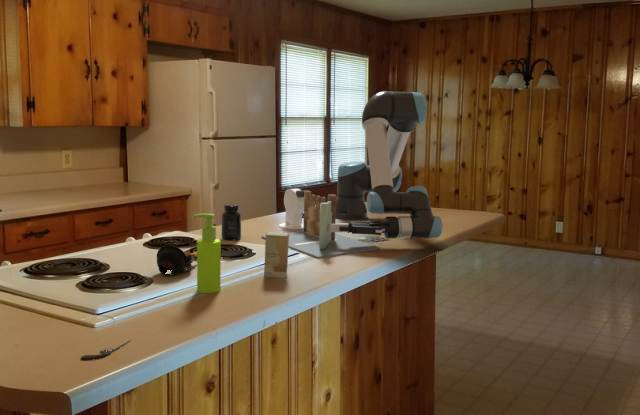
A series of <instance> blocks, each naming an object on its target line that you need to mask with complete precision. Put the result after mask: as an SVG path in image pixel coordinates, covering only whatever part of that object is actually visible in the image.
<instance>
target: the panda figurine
mask: <svg viewBox="0 0 640 415" xmlns="http://www.w3.org/2000/svg"><path fill="white" fill-rule="evenodd" d="M304 191H307V190H305V189H301V188H295V187H294V186H285V187H284V196H283V205H284V208H285V209H284V210H285V220H284V222H282V223H280V224H278V227H279V228H281V229H286V230H303V226H304V222H303V221H302V220H303V219H304Z"/></svg>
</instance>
